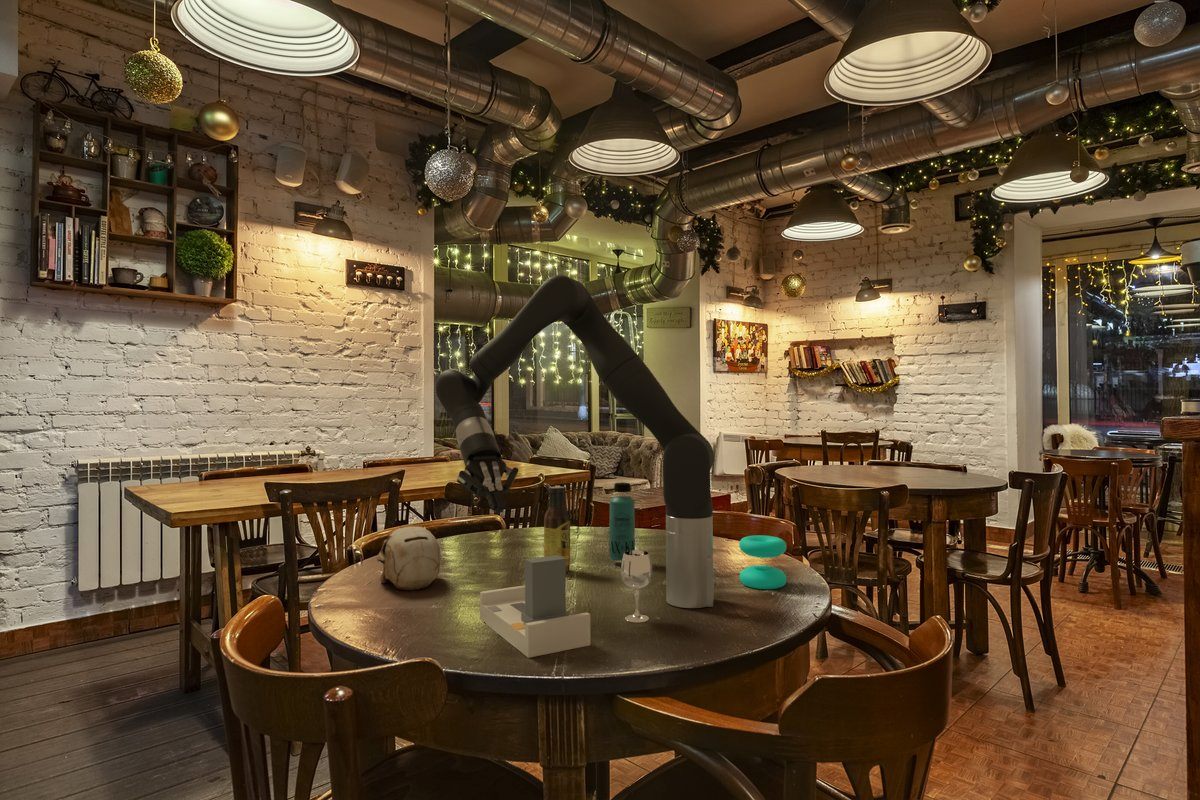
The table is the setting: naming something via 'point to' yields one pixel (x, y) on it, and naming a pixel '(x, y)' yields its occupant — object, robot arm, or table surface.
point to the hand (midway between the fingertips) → (500, 510)
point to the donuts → (763, 574)
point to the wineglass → (636, 577)
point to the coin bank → (410, 558)
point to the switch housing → (531, 624)
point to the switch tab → (545, 589)
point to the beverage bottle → (621, 523)
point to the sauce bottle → (557, 526)
